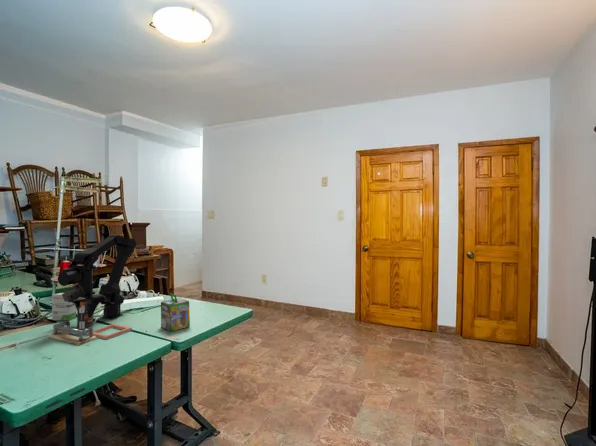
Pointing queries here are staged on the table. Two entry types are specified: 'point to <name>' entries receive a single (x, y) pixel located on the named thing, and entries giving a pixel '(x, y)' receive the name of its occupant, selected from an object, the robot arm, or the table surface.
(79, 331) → the bent wire
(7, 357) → the table surface
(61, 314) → the ink box
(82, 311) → the pill bottle
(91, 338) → the wire base
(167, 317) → the chalk box
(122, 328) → the frame
